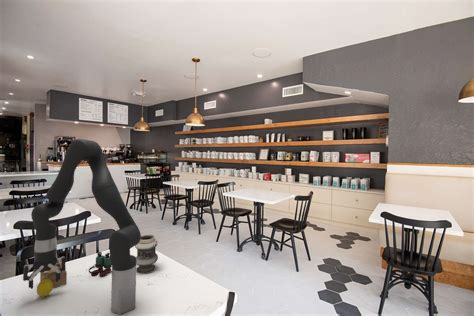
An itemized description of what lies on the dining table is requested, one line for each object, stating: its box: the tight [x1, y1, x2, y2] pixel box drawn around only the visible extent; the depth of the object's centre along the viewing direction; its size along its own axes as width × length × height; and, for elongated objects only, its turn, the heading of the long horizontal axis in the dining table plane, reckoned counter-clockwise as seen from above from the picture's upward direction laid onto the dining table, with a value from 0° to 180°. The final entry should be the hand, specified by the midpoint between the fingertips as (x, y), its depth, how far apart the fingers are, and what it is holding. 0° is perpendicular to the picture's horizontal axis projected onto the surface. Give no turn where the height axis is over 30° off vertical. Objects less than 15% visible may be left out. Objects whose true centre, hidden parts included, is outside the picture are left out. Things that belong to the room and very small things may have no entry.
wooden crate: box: [39, 261, 68, 289], centre depth 111 cm, size 9×9×8 cm
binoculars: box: [88, 251, 112, 278], centre depth 121 cm, size 9×11×10 cm
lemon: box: [36, 279, 54, 298], centre depth 101 cm, size 6×6×8 cm
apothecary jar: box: [134, 234, 159, 274], centre depth 128 cm, size 12×12×18 cm
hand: (44, 284), depth 102 cm, fingers open, 8 cm apart
